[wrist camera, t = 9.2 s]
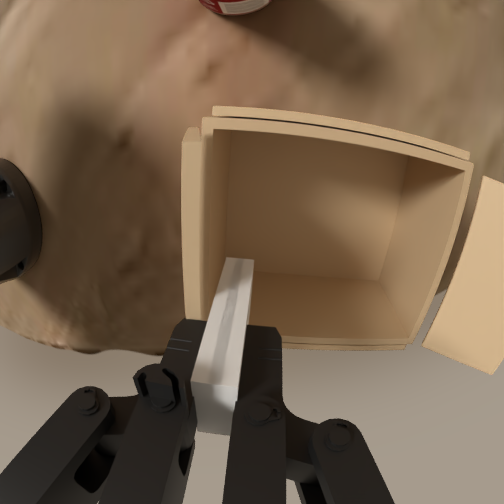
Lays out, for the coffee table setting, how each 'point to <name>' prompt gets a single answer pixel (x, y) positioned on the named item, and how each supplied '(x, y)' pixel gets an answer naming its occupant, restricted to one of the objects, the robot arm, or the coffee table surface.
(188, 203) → the flap
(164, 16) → the coffee table surface
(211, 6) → the soda can
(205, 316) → the carton
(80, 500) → the robot arm
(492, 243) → the flap
